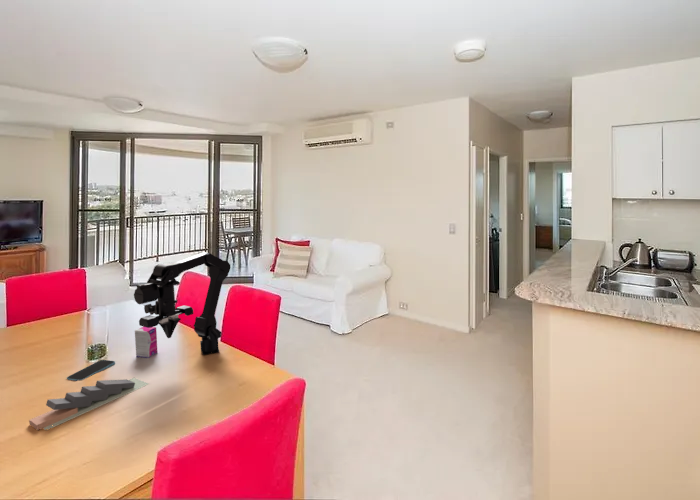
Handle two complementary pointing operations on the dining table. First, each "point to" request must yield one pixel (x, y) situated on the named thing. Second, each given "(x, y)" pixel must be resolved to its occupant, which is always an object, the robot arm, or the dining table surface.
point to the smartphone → (91, 370)
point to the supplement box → (146, 342)
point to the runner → (101, 402)
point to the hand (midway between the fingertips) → (169, 337)
